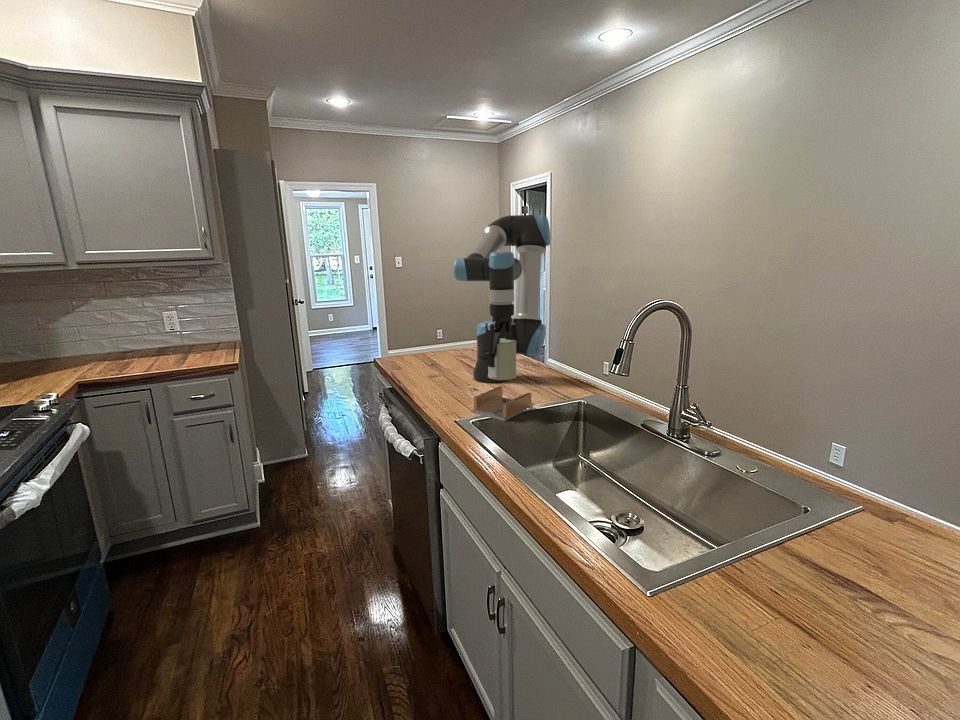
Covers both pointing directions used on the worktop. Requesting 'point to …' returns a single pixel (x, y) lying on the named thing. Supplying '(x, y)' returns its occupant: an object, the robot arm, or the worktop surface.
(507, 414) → the rail holder
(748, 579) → the worktop surface
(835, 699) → the worktop surface
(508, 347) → the can
